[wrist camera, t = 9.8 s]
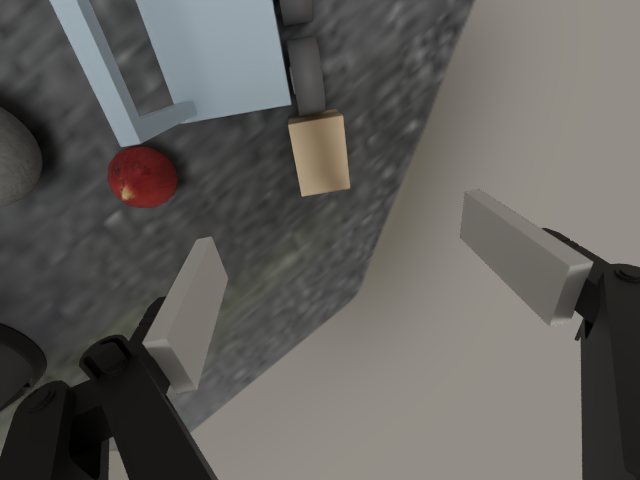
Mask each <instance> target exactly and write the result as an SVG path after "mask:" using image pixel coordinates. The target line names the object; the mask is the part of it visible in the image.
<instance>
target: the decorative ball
mask: <svg viewBox="0 0 640 480" xmlns="http://www.w3.org/2000/svg"><path fill="white" fill-rule="evenodd" d="M41 171H42V156H41V151H40V148H39V146H38V144H37V141H36V140H35V138H34V136H33V135H32V134H31V132H30V131H29V130H28V129H27V128H26V126H25V125H24V124H23V123H22V122H20V121H19V120H18V119H17V118H16V117H15V116H13V115H12V114H11V113H9V112H8V111H6V110H5V109H3V108H1V107H0V207H3V206H6V205H9V204H11V203H13V202H15V201H17V200H19V199H21V198H22V197H24V196H25V195H26V194H27V193H29V192H30V191H31V190H32V189H33V187H34V186H35V185H36V183H37V182H38V180H39V177H40V174H41Z"/></svg>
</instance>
